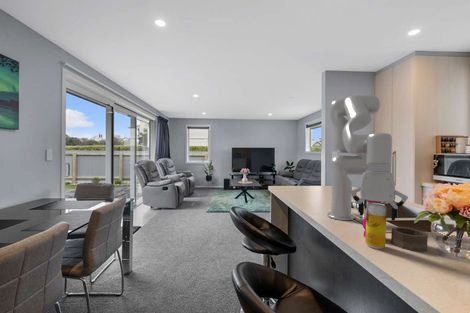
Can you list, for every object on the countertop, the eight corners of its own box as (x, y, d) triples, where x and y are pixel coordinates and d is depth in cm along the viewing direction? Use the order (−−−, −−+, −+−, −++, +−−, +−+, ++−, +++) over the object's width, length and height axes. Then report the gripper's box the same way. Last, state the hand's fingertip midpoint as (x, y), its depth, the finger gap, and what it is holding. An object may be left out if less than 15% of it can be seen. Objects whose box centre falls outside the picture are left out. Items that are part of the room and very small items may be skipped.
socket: (393, 237, 94) (394, 225, 94) (427, 245, 88) (428, 231, 88) (389, 245, 86) (390, 231, 86) (426, 253, 80) (427, 239, 80)
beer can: (362, 242, 88) (363, 202, 88) (378, 243, 88) (380, 202, 88) (370, 249, 82) (372, 205, 82) (388, 250, 82) (390, 206, 82)
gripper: (349, 167, 87) (347, 214, 87) (407, 170, 76) (406, 224, 76) (354, 167, 93) (353, 211, 93) (409, 169, 82) (408, 220, 82)
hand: (377, 217), depth 84 cm, fingers open, 9 cm apart
